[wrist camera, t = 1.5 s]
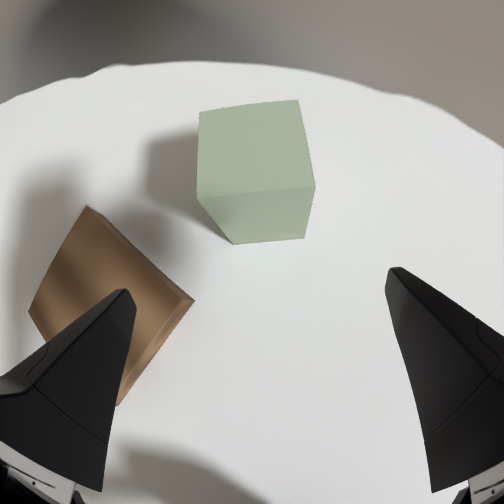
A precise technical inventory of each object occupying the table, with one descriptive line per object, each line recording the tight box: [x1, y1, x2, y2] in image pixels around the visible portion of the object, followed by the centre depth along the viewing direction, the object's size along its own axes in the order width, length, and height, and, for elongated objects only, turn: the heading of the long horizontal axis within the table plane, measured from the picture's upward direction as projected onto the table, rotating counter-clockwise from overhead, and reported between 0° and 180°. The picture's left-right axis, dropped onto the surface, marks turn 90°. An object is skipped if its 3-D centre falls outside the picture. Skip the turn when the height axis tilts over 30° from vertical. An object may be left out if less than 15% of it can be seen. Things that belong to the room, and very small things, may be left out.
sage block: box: [196, 100, 316, 245], centre depth 19 cm, size 6×6×10 cm
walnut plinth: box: [28, 206, 195, 407], centre depth 22 cm, size 14×14×3 cm
